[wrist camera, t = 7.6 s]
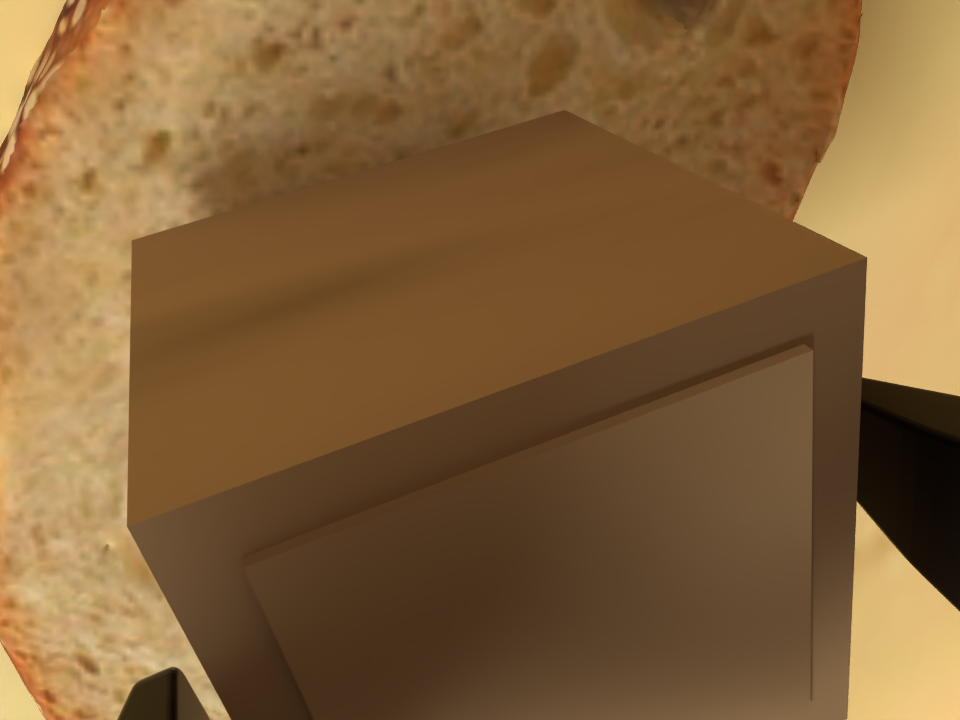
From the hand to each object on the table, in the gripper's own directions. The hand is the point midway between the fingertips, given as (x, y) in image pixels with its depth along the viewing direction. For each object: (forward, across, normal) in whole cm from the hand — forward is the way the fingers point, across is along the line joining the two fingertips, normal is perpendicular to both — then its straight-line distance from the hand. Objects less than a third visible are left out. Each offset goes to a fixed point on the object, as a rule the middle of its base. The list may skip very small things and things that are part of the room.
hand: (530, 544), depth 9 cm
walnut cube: (+4, 0, 0) cm, 4 cm away
